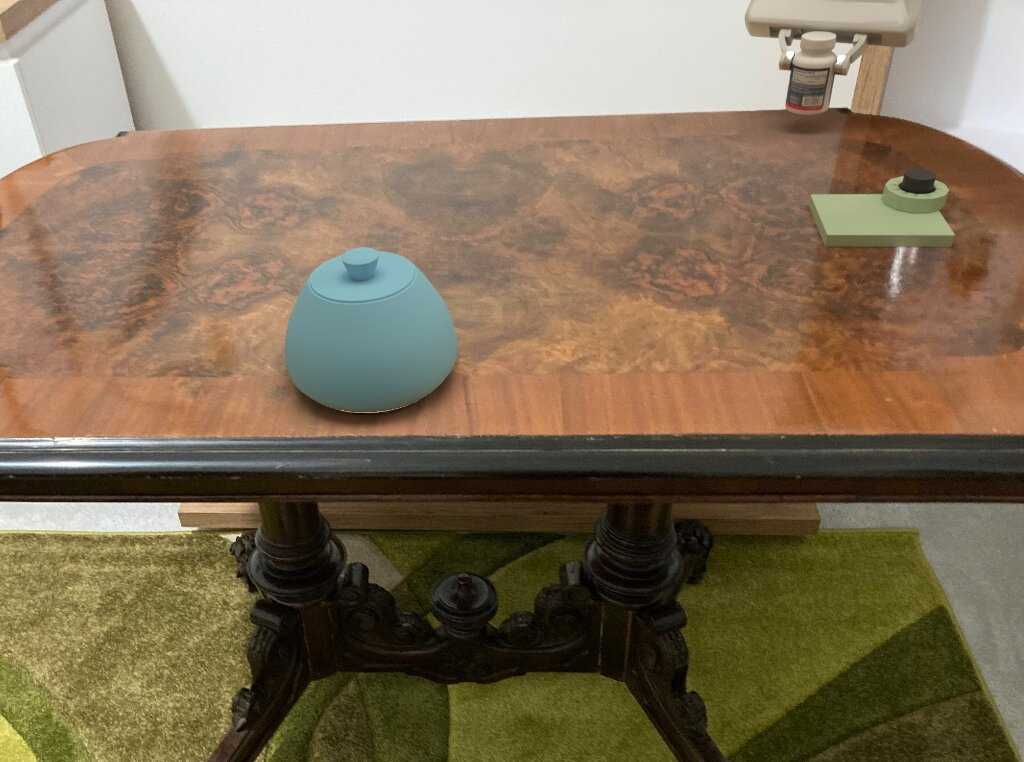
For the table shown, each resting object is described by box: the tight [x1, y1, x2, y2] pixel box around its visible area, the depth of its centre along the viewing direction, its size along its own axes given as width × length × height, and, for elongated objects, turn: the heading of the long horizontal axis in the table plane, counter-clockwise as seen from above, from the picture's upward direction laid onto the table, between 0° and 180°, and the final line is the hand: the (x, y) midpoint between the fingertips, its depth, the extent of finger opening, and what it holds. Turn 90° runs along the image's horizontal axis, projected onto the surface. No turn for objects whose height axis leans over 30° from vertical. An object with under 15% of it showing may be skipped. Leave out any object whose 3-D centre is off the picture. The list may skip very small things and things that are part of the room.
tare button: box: [901, 168, 937, 194], centre depth 96 cm, size 3×3×2 cm
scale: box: [807, 175, 956, 248], centre depth 96 cm, size 13×11×3 cm
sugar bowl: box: [284, 246, 459, 412], centre depth 78 cm, size 15×15×12 cm
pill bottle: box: [784, 31, 838, 116], centre depth 115 cm, size 5×5×9 cm
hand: (812, 70), depth 114 cm, fingers closed on pill bottle, 5 cm apart
